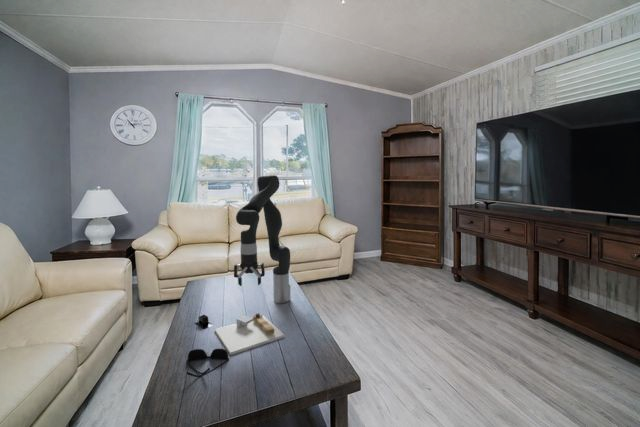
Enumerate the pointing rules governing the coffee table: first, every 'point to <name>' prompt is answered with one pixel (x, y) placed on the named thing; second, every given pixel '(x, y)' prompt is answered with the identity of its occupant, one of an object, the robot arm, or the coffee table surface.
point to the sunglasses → (201, 355)
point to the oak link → (263, 324)
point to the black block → (203, 322)
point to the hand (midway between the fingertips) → (249, 285)
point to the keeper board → (245, 335)
